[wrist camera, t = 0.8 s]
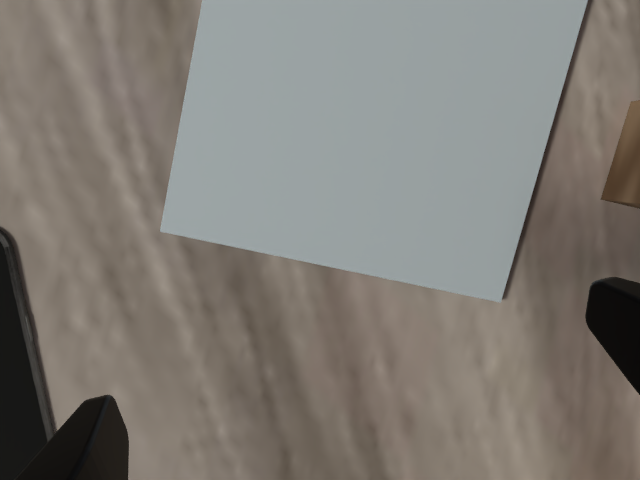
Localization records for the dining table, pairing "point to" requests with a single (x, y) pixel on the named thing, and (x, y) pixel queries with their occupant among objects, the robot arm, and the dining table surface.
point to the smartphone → (18, 376)
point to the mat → (371, 132)
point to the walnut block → (626, 163)
